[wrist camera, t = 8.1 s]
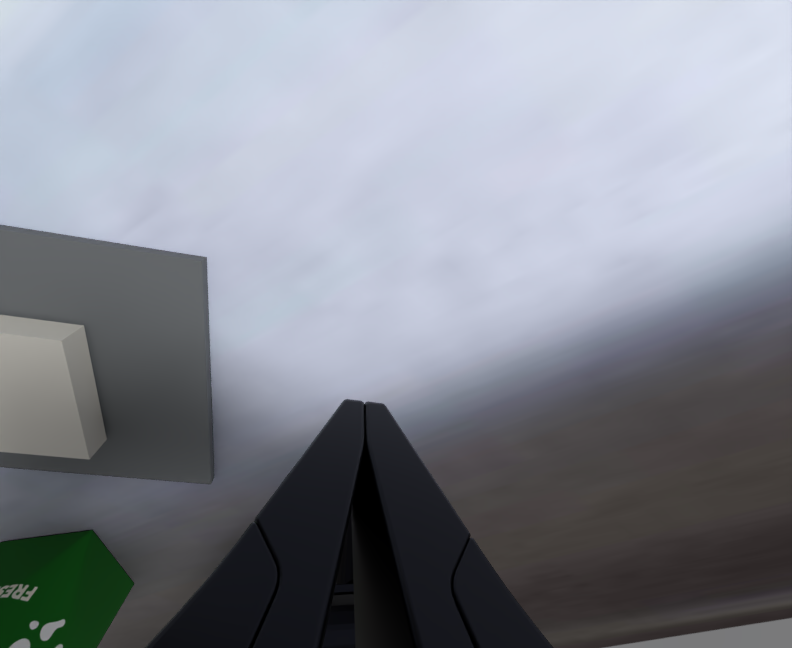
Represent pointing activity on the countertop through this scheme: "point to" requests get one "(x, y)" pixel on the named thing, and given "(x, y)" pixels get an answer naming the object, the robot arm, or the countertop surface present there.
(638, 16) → the countertop surface
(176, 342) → the mat
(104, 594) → the milk carton
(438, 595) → the robot arm
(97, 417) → the tile
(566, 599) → the countertop surface
